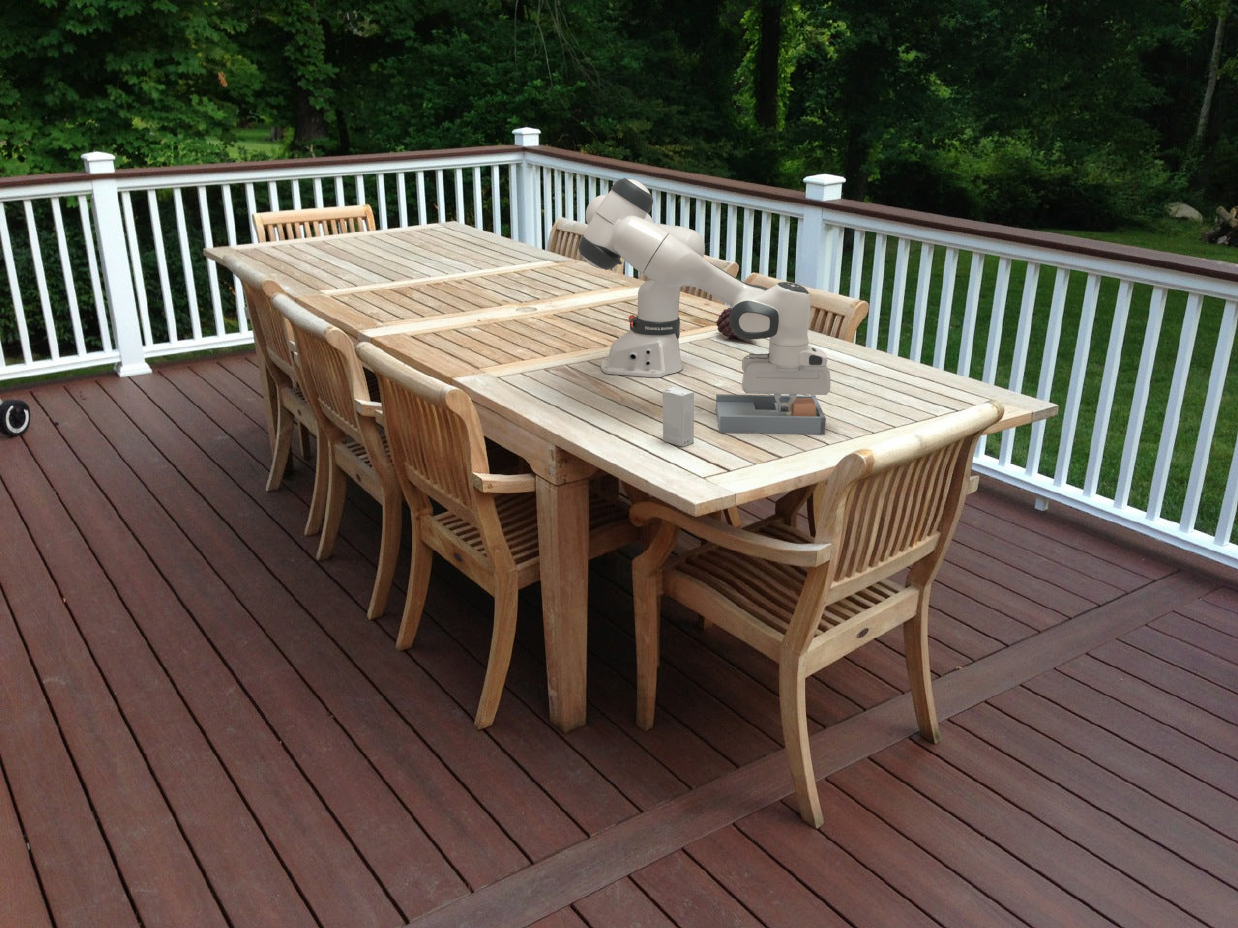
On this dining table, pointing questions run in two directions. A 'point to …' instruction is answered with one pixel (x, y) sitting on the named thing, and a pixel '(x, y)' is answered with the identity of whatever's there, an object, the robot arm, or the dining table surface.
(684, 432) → the skincare box
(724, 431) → the box
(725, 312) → the pine cone
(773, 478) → the dining table surface
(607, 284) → the dining table surface
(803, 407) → the block
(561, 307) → the dining table surface
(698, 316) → the dining table surface
